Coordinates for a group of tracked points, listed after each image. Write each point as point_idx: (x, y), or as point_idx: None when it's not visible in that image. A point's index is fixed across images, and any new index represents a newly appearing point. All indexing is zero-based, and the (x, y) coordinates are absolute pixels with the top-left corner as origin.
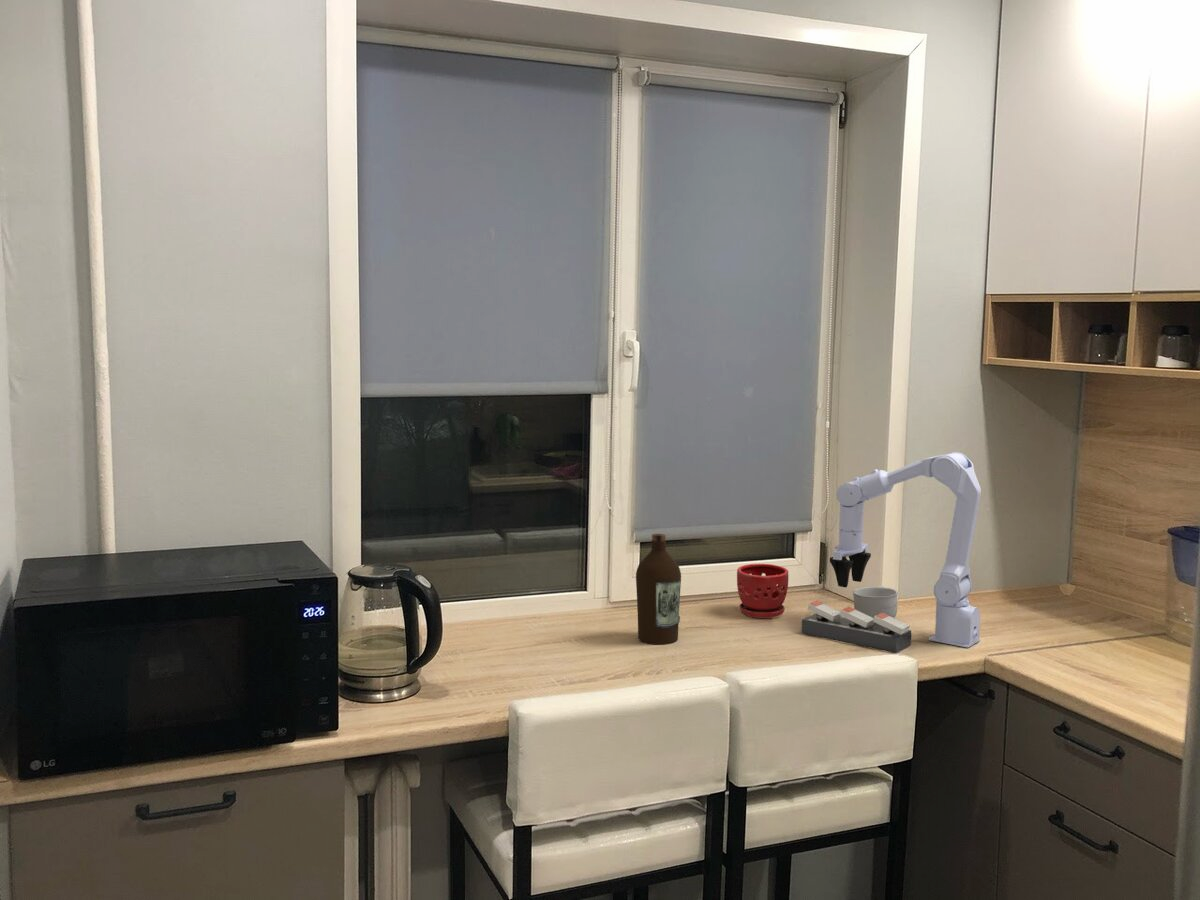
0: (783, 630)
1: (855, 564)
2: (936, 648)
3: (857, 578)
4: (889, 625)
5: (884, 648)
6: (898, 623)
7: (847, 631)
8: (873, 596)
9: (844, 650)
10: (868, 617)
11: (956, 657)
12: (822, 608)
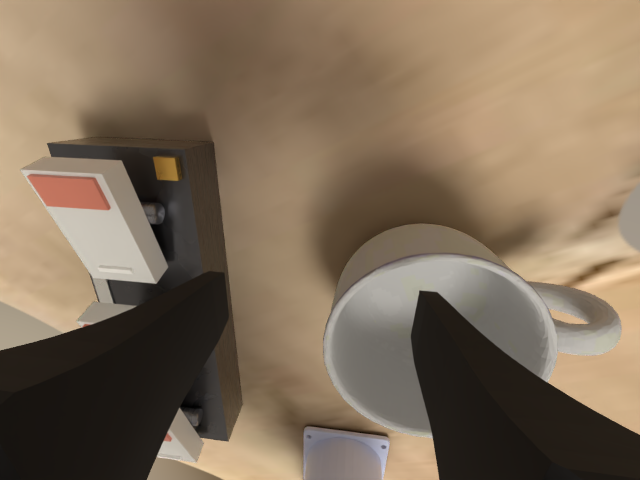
0: (70, 53)
1: (458, 412)
2: (261, 442)
3: (417, 334)
4: None
5: None
6: (166, 451)
7: None
8: (517, 295)
9: (82, 305)
10: None
11: (232, 473)
12: (77, 229)
